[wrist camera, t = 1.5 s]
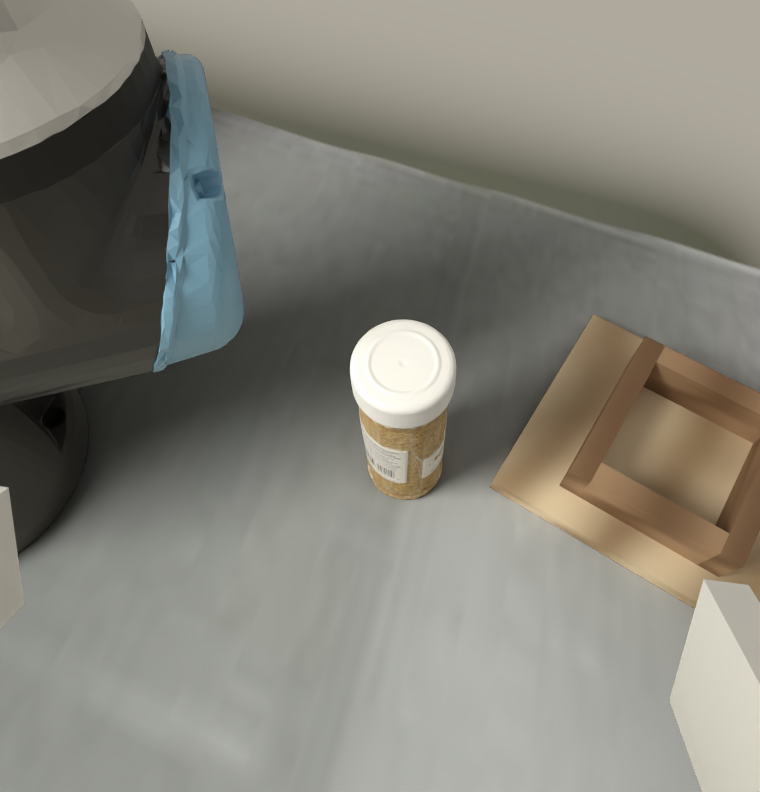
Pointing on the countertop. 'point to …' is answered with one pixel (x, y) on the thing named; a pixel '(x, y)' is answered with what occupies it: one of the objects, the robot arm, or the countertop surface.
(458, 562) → the countertop surface
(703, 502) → the socket board
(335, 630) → the countertop surface
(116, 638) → the countertop surface
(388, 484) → the sprinkles bottle
